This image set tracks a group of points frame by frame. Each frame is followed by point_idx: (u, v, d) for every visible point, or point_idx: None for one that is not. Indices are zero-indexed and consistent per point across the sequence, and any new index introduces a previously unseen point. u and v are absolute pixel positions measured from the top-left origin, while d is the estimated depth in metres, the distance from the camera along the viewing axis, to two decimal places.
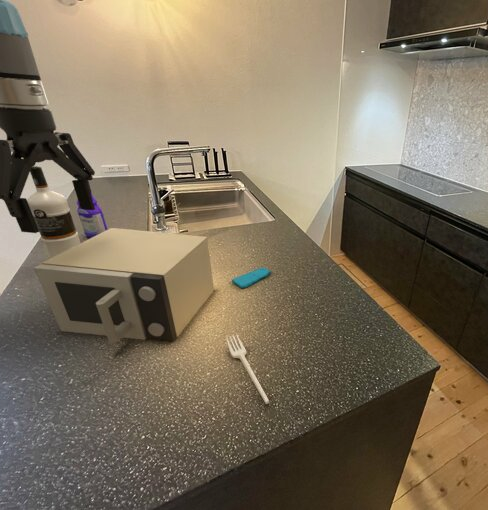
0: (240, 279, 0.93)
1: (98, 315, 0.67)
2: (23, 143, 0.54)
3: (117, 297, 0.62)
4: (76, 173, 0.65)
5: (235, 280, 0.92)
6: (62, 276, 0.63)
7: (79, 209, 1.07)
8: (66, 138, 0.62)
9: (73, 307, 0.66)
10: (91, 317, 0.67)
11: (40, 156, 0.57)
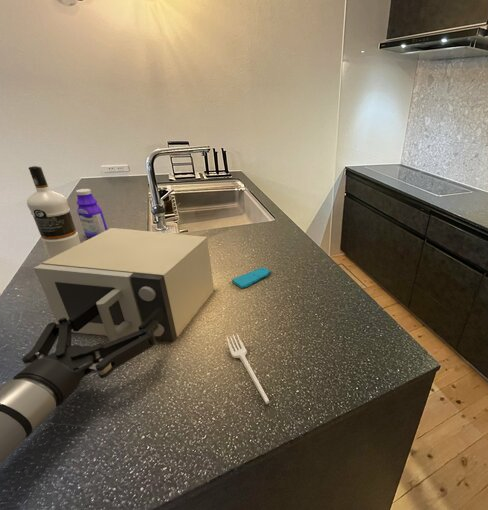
0: (240, 279, 0.93)
1: (98, 315, 0.67)
2: None
3: (117, 297, 0.62)
4: None
5: (235, 280, 0.92)
6: (63, 276, 0.63)
7: (79, 209, 1.07)
8: None
9: (73, 307, 0.66)
10: None
11: None
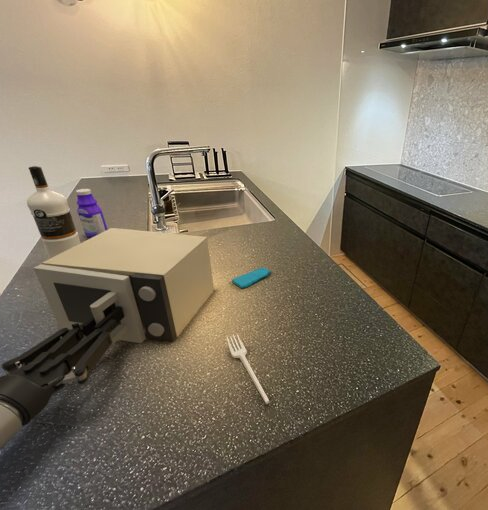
0: (240, 279, 0.93)
1: None
2: None
3: (113, 300, 0.62)
4: None
5: (235, 280, 0.92)
6: (61, 277, 0.62)
7: (79, 209, 1.07)
8: None
9: (71, 308, 0.66)
10: None
11: None
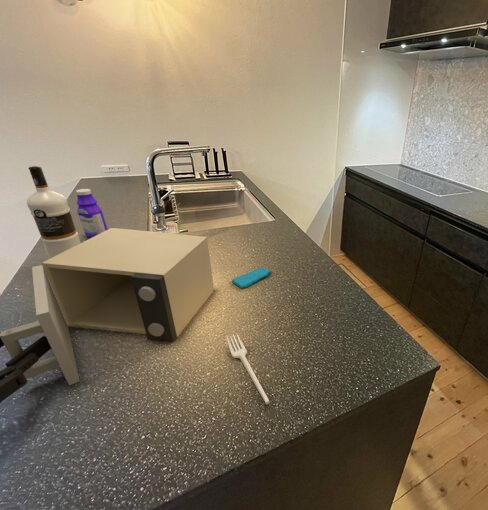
0: (240, 279, 0.93)
1: None
2: None
3: (33, 331, 0.52)
4: None
5: (235, 280, 0.92)
6: None
7: (79, 209, 1.07)
8: None
9: None
10: None
11: None
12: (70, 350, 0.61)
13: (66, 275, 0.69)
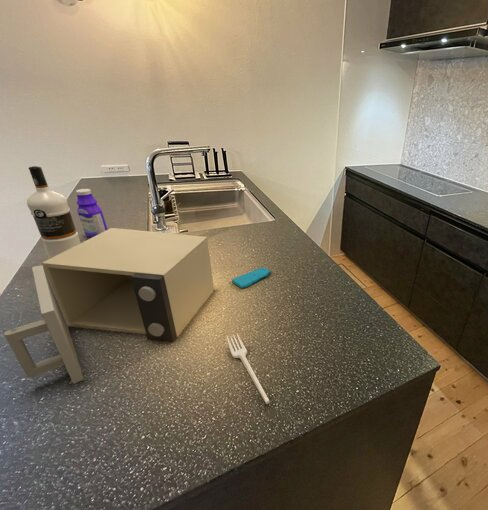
0: (240, 279, 0.93)
1: None
2: None
3: (38, 330, 0.53)
4: None
5: (235, 280, 0.92)
6: None
7: (79, 209, 1.07)
8: None
9: None
10: None
11: None
12: (73, 349, 0.61)
13: (66, 275, 0.69)
